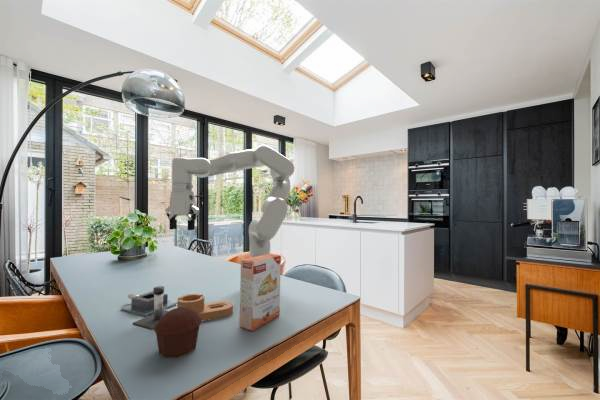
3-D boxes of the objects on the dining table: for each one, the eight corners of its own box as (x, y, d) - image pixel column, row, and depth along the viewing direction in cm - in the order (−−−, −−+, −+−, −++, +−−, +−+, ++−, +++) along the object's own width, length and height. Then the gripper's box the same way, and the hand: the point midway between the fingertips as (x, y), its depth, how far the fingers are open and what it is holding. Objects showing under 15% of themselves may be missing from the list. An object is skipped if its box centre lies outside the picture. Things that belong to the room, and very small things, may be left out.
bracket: (178, 326, 83) (178, 304, 83) (176, 316, 90) (176, 295, 90) (235, 315, 92) (235, 295, 92) (229, 307, 99) (229, 288, 99)
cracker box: (253, 332, 79) (254, 261, 80) (238, 327, 82) (239, 259, 83) (281, 316, 91) (281, 254, 91) (267, 312, 94) (267, 252, 95)
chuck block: (177, 304, 100) (177, 293, 100) (147, 316, 89) (148, 304, 89) (144, 297, 107) (144, 287, 107) (113, 308, 96) (113, 296, 96)
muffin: (167, 337, 76) (168, 302, 76) (206, 337, 76) (207, 302, 76) (144, 362, 64) (144, 320, 64) (190, 361, 64) (191, 320, 64)
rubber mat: (182, 315, 90) (182, 314, 90) (152, 329, 80) (152, 328, 80) (163, 311, 94) (163, 310, 94) (132, 323, 84) (132, 322, 84)
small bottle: (165, 317, 88) (166, 287, 88) (157, 321, 85) (158, 289, 85) (159, 315, 89) (159, 285, 89) (150, 319, 86) (151, 288, 86)
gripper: (205, 188, 110) (205, 229, 110) (173, 188, 117) (173, 228, 117) (191, 187, 103) (191, 231, 103) (158, 188, 110) (158, 229, 110)
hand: (182, 229), depth 110 cm, fingers open, 9 cm apart
